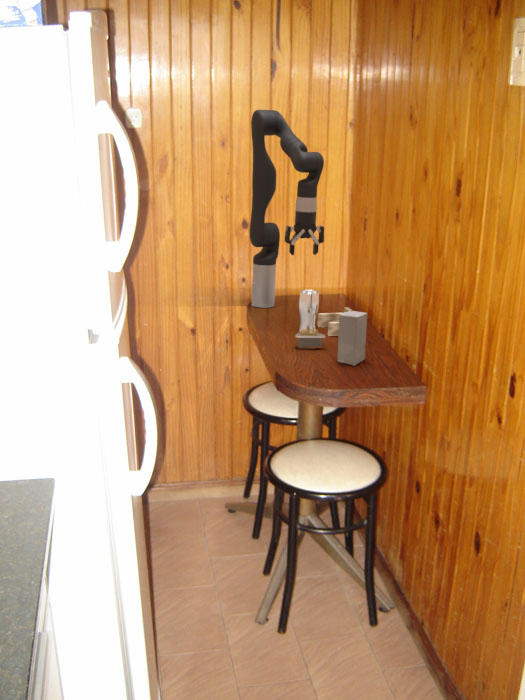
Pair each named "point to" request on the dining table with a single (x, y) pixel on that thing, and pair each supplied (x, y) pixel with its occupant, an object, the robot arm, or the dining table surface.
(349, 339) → the skincare box
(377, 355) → the dining table surface
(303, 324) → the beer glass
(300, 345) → the platform
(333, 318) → the bracket
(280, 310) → the dining table surface
